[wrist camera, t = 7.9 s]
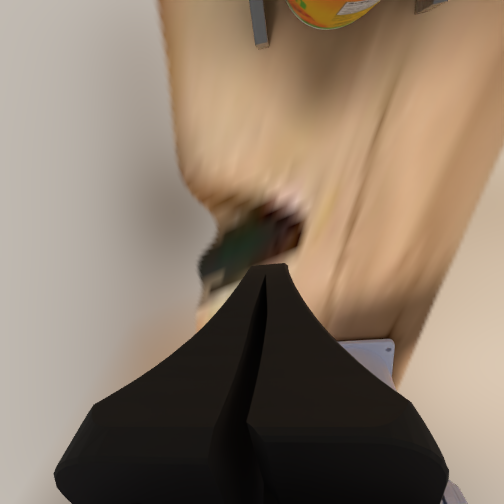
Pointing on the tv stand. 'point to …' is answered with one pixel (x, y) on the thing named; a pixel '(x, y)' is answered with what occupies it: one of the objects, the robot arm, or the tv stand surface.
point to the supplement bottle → (330, 12)
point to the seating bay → (423, 4)
